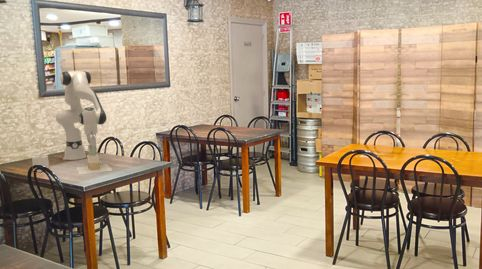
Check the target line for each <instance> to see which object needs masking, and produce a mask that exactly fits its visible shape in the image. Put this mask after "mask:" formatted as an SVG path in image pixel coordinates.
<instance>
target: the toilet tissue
mask: <svg viewBox="0 0 482 269" xmlns="http://www.w3.org/2000/svg"><path fill="white" fill-rule="evenodd" d="M31 162H32V167H33V166H34V165H42V166H45V167H47V168H49V169H50V161H49V155H46V154H39V155H35V156H32V158H31ZM32 170H33V169H32ZM33 171H34V170H33ZM33 171H32V172H33ZM36 173H42V171H41V170H37V172H36Z"/></svg>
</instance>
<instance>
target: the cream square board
mask: <svg viewBox="0 0 482 269" xmlns="http://www.w3.org/2000/svg"><path fill="white" fill-rule="evenodd" d="M99 166H100V169H97V170H89V169H88V165H85V166H76V168H75V169H76V171H77V173H78V174H79V175H86V174H93V173H95V174H96V173H103V172H110V171H113V169H112V168H111V166H110V165H109V164H108V163H103V164H99Z"/></svg>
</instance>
